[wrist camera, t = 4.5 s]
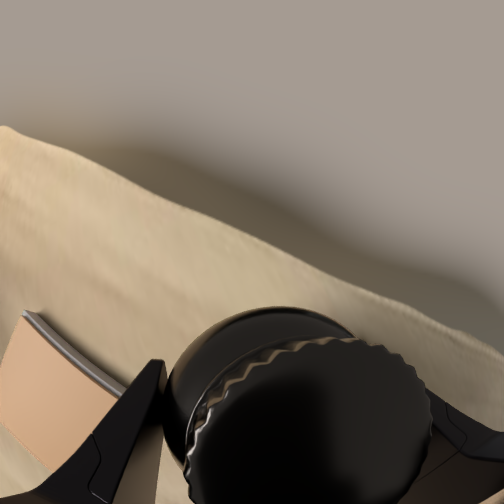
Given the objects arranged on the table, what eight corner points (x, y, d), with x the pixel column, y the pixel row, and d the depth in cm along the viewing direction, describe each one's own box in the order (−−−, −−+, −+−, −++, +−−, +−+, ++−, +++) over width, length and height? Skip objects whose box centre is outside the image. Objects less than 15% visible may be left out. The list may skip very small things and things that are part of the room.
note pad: (93, 487, 14) (83, 498, 12) (0, 405, 14) (-15, 407, 12) (140, 396, 18) (131, 402, 16) (35, 312, 19) (20, 307, 16)
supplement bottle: (179, 330, 15) (94, 284, 4) (295, 317, 16) (445, 249, 5) (196, 441, 13) (177, 590, 2) (310, 423, 14) (455, 503, 3)
